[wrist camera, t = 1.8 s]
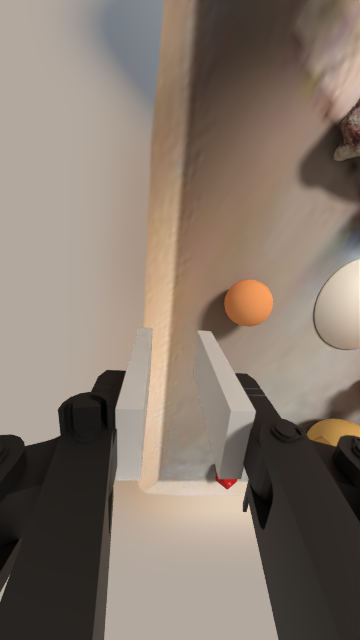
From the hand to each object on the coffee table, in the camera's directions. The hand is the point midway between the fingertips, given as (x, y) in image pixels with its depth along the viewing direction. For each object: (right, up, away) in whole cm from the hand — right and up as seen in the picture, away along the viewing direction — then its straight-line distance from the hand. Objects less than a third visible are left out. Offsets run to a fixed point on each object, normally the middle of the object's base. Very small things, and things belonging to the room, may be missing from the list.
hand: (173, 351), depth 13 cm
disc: (+25, +4, +18) cm, 31 cm away
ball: (+8, +4, +14) cm, 17 cm away
